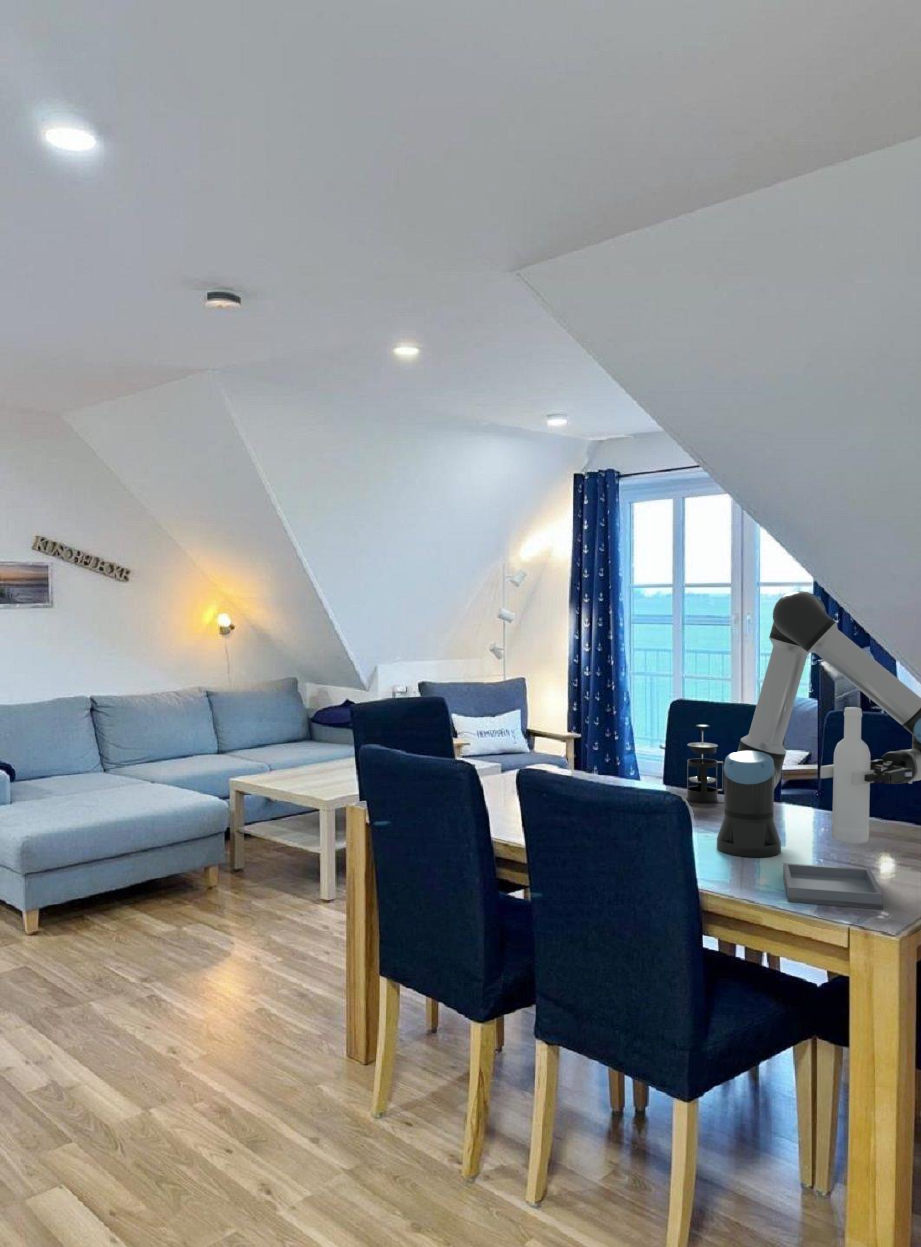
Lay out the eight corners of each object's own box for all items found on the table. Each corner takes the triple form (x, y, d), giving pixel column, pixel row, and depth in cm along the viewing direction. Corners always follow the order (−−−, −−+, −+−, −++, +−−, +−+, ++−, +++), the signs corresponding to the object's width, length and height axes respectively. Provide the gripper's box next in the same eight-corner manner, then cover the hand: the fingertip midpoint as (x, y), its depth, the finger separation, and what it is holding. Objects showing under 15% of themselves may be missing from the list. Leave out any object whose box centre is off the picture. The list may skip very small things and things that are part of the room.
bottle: (877, 842, 214) (880, 709, 212) (847, 845, 211) (850, 710, 210) (852, 833, 221) (855, 705, 220) (824, 835, 219) (826, 706, 218)
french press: (685, 803, 285) (686, 726, 284) (682, 796, 295) (682, 722, 294) (726, 803, 284) (726, 727, 283) (721, 797, 293) (721, 722, 292)
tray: (787, 902, 195) (788, 887, 194) (783, 876, 212) (783, 863, 212) (883, 909, 190) (883, 894, 190) (870, 882, 207) (870, 869, 207)
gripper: (942, 790, 216) (876, 801, 205) (865, 774, 234) (800, 783, 222) (943, 757, 215) (877, 766, 204) (865, 744, 233) (800, 751, 222)
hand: (837, 775), depth 213 cm, fingers closed on bottle, 8 cm apart
